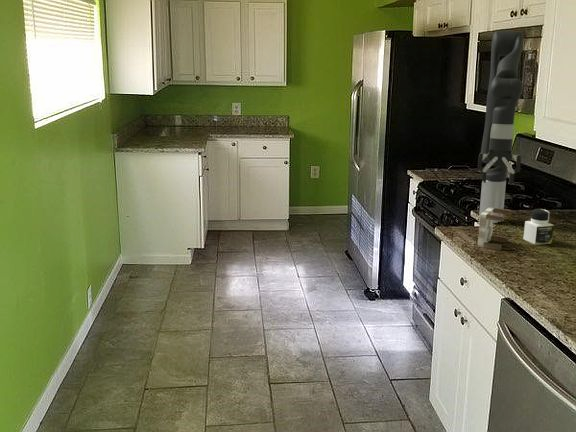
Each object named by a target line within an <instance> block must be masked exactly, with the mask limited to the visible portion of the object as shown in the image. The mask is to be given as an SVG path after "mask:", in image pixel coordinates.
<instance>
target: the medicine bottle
mask: <svg viewBox="0 0 576 432" xmlns="http://www.w3.org/2000/svg"><path fill="white" fill-rule="evenodd" d="M549 221H550V211H549V210H546V209H545V208H544V209H543V208H535V209H532V210H531V215H530V220H525V222H524V229H523V240H525V241H526V242H528V243H531V244H533V245H535V246H536V245H546V244H549V245H550V244H552V241H553V235H554V224H552V223H550V222H549Z"/></svg>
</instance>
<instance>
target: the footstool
mask: <svg viewBox="0 0 576 432" xmlns="http://www.w3.org/2000/svg"><path fill="white" fill-rule="evenodd" d="M494 213H499V214H503V216H498V215H494ZM504 215H505V216H504ZM506 215H507V216H508V215H509V216H511V215H512V210H511V209H507V208H503V209H500V208H492V207H489V208H487V209H486V210H485V211H484V212H483V213H481V214H480V220H479V225H478V226H479V227H478V240H477V247H479V248H483V249H491V250H496V251H501V250H502V244H497V243H491V242H490V241H495V242H502V243H508V242H509V237H508V236H507V237H506V236H500V235H494V234H493V229H494V223H493V220H496V221H502V222H504V221H505V217H506Z"/></svg>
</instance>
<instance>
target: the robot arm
mask: <svg viewBox="0 0 576 432" xmlns="http://www.w3.org/2000/svg"><path fill="white" fill-rule="evenodd" d="M523 47H524V35H523V32H521V31H518V30H496V31H495V32H494V33H493V35H492V39H491V48H490V49H491V50H490V52H491V53H490V70H489V72H490V73H489V81H488V87H487V96H486V106H485V121H484V128H483V129H484V130H483V136H482V141H481V148H480V153H479V155H478V160H477V170H478V171H481V173H482V174H481V180H482V181H481V182H482V183H481V191H480V202H479V203H480V205H479V213H478V214H479V215H478V221H480V214H481V213H483V212H484V211H485V210H486V209H487V208H489V207H492V208H500V209H505V208H504V207H505V197H506V185H507V175H508V171H509V180H508V185H512V184H513V183H514V181H515V174H516V173H517V174H518V173H520V172H521V165H522V163H521V161H522V156H521V155H520V154H516V155H515V154H513V153H512V152H513V151H512V149H513V142H514V129H515V128H514V123H515V114H516V109H517V105H518V103H519V99H520V97H521V95H522V92H523V88H524V85H523V82H522V81H521V79H519V78H518V69H519V63H520V60H521V55H522V52H523ZM500 57H502V59H501V60H500ZM513 159H514V161H515V162H516V163H515V165H516V168H514V169H513V167H512V165H511V164H510V162H511V160H513ZM483 163H484V164H486V165H484V167H483V166H482V165H483ZM492 166H494V167H493V168H492V169H490V168H491V167H492ZM494 215H498V216H504V214H499V213H494ZM498 222H500V223H501V221H496V220H493V224H498Z"/></svg>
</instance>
